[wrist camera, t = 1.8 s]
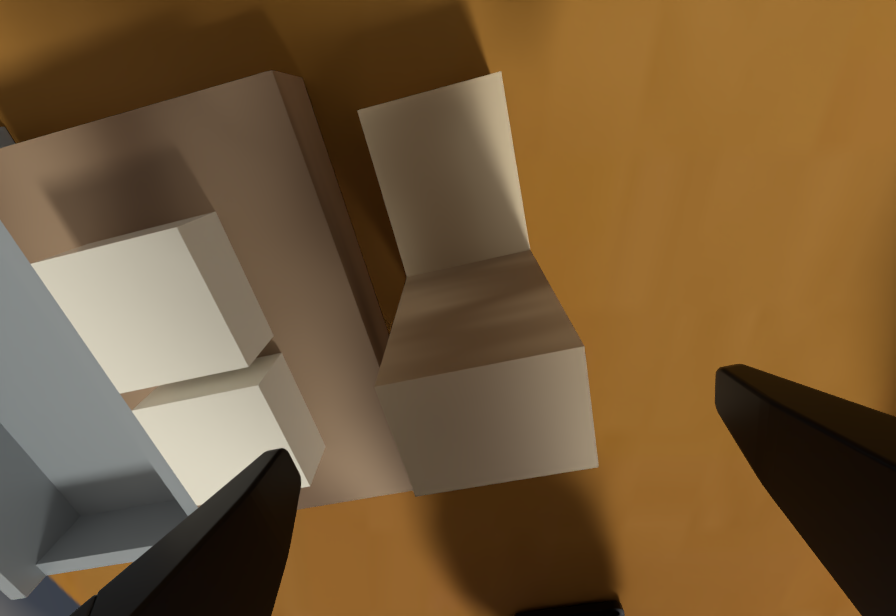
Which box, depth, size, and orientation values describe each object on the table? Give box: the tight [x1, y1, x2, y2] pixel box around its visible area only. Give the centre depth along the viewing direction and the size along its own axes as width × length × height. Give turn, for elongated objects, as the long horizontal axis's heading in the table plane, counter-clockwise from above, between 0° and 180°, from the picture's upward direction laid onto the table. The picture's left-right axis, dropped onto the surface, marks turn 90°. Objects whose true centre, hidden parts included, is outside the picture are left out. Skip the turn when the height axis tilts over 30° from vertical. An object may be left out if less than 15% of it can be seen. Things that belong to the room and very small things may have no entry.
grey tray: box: [0, 127, 198, 600], centre depth 17 cm, size 9×18×4 cm, turn 13°
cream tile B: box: [132, 353, 325, 506], centre depth 15 cm, size 4×4×2 cm
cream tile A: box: [31, 211, 274, 394], centre depth 13 cm, size 4×4×2 cm
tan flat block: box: [0, 70, 413, 510], centre depth 16 cm, size 10×16×2 cm, turn 13°
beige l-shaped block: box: [357, 71, 599, 497], centre depth 12 cm, size 4×13×9 cm, turn 14°
